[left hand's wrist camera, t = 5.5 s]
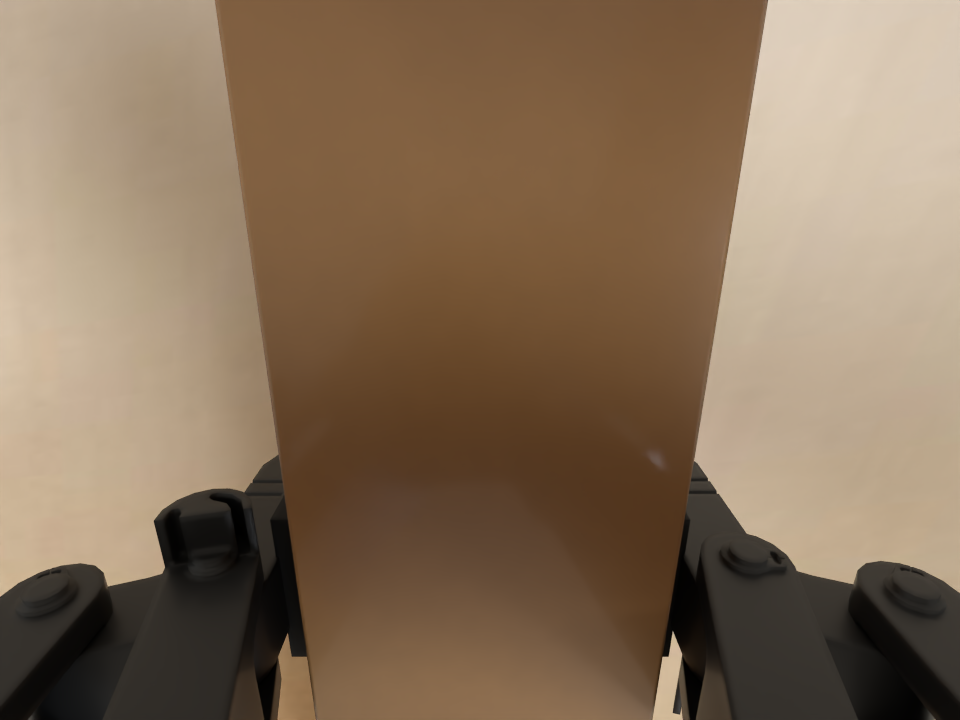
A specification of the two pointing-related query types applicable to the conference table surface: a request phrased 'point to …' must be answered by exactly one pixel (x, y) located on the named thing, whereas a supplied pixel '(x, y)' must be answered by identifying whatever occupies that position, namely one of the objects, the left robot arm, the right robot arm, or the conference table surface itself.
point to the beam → (488, 330)
